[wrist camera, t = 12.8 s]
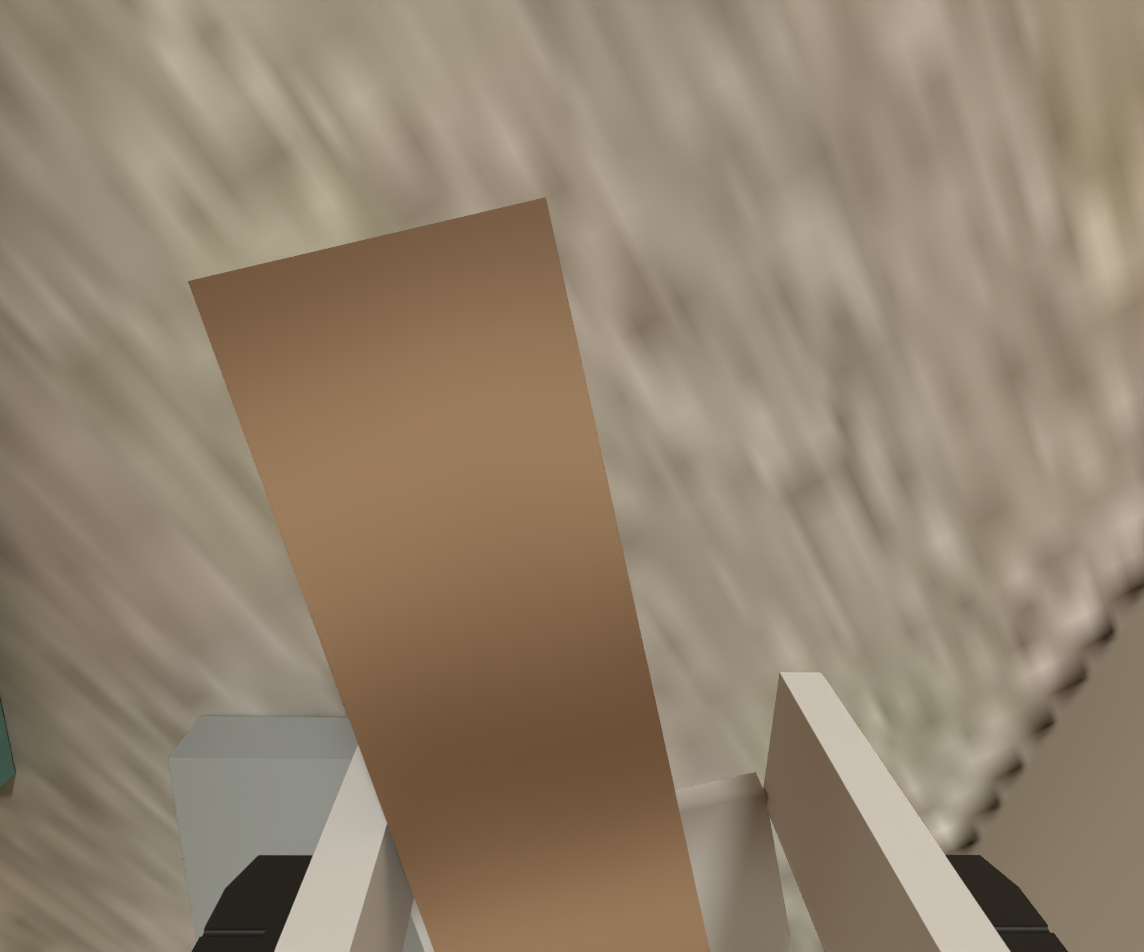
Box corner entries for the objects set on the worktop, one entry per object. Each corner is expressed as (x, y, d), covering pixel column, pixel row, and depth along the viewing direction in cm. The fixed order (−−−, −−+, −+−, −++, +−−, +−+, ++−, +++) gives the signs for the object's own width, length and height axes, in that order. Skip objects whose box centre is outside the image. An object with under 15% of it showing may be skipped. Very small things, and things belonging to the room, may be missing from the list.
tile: (167, 757, 24) (201, 973, 27) (452, 759, 24) (457, 972, 27) (204, 711, 27) (231, 912, 30) (462, 713, 27) (465, 912, 30)
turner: (204, 307, 10) (10, 322, 7) (655, 202, 10) (725, 154, 6) (534, 1213, 16) (534, 1499, 12) (821, 1150, 16) (911, 1419, 12)
